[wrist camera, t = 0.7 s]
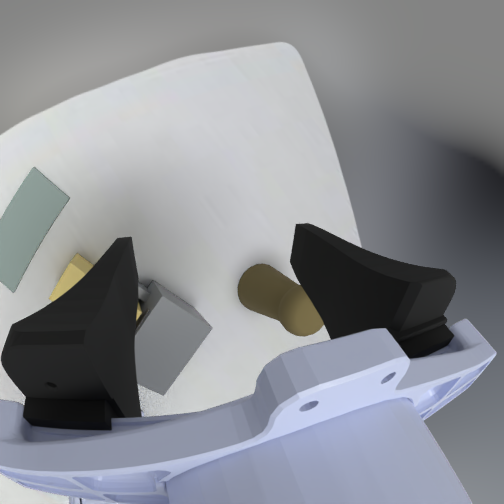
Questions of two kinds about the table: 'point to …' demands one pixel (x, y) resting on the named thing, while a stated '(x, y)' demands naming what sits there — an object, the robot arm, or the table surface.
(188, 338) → the grey boxy piece
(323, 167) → the table surface
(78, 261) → the tall tan block
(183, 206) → the table surface
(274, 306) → the cork
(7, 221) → the mat
